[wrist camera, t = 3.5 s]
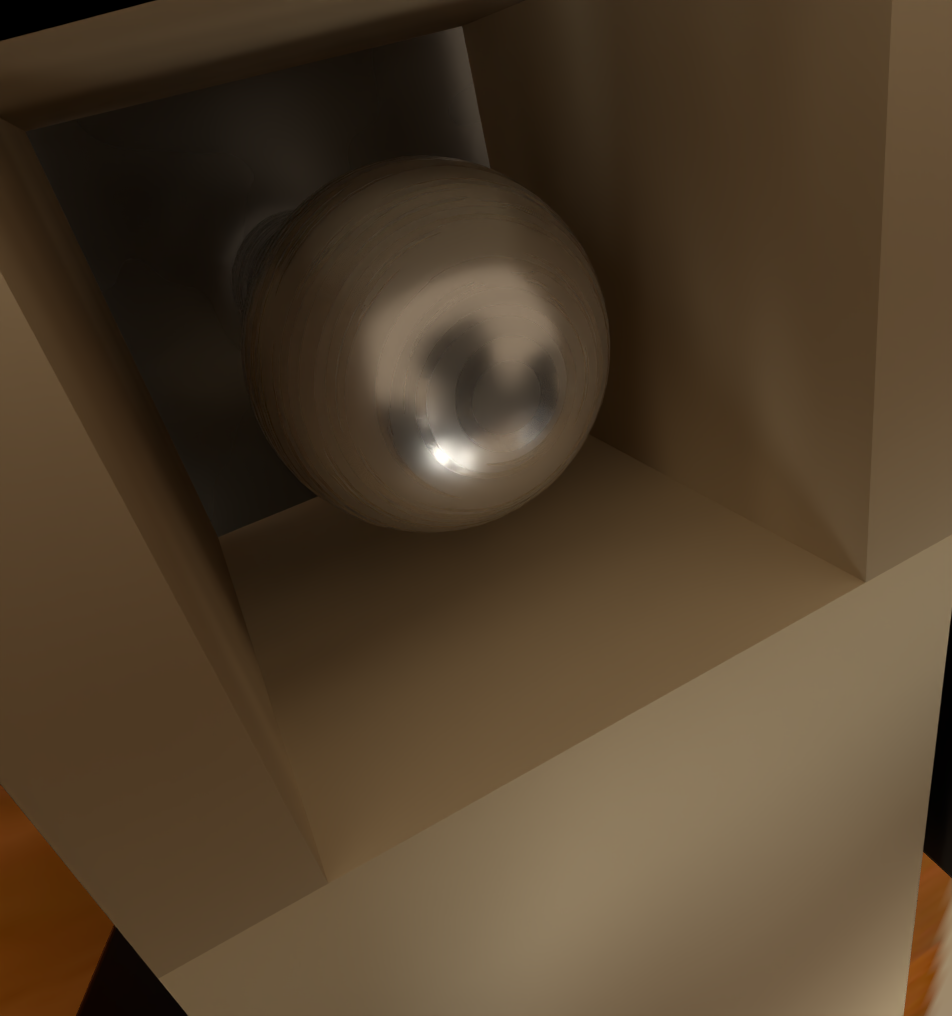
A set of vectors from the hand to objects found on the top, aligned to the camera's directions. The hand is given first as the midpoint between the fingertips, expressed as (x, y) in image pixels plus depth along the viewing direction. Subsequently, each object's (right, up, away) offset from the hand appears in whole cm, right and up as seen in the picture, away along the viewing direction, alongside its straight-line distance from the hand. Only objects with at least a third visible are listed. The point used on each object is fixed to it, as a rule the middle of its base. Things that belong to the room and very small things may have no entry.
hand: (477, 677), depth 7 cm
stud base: (-2, +3, +2) cm, 4 cm away
